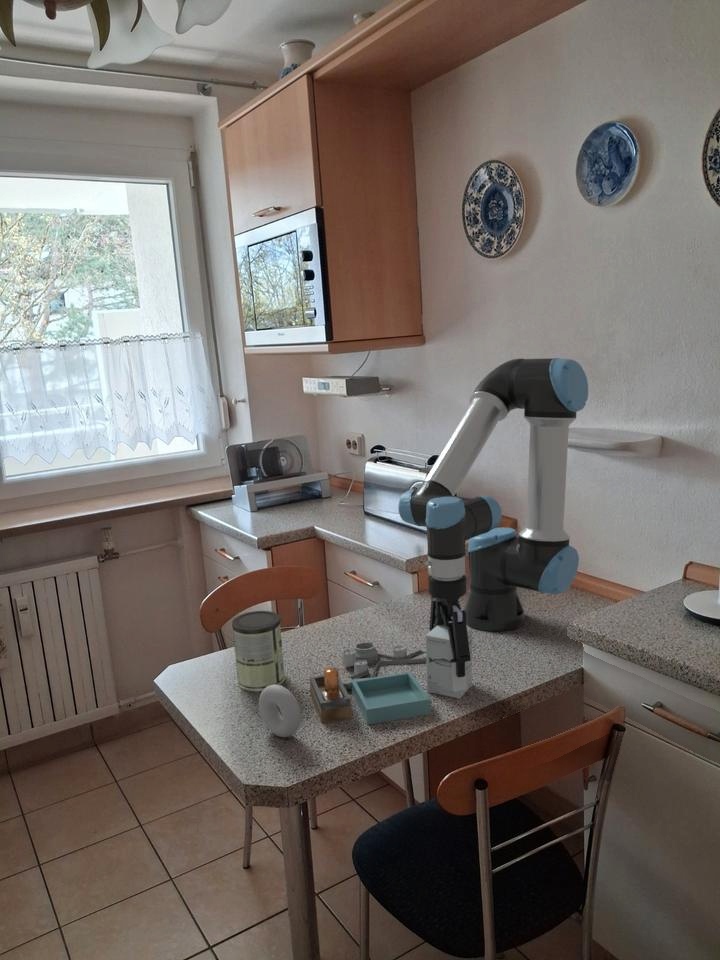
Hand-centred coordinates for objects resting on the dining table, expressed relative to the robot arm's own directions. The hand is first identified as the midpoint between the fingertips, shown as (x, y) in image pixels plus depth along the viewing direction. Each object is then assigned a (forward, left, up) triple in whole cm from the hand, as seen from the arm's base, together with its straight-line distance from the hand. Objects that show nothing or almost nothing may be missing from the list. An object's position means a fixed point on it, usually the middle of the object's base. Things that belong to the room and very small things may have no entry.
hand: (449, 678), depth 158 cm
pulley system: (+11, -16, -3) cm, 19 cm away
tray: (+13, +2, -2) cm, 14 cm away
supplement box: (0, 0, -3) cm, 3 cm away
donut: (+36, +7, -3) cm, 37 cm away
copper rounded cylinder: (+25, +2, 0) cm, 25 cm away
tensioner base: (+25, -1, -2) cm, 25 cm away
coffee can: (+37, -17, -3) cm, 41 cm away
